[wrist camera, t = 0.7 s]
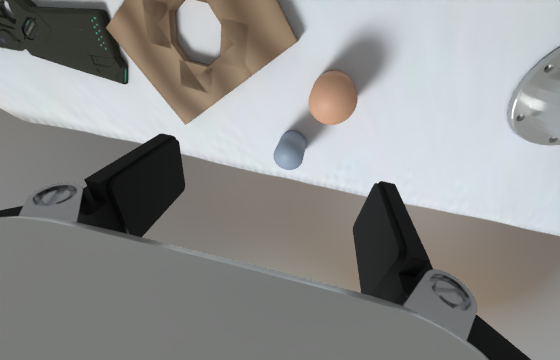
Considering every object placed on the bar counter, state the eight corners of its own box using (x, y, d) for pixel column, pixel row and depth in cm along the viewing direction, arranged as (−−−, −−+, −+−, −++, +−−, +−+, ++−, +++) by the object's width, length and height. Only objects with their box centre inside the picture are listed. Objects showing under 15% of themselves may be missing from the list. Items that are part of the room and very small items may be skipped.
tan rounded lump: (343, 60, 28) (345, 65, 24) (360, 100, 30) (364, 110, 26) (304, 85, 31) (300, 93, 27) (323, 120, 33) (321, 132, 29)
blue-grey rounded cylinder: (297, 126, 34) (293, 138, 30) (310, 148, 36) (308, 162, 32) (275, 138, 36) (268, 151, 32) (288, 158, 38) (283, 173, 34)
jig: (218, -118, 22) (212, -127, 21) (298, 41, 28) (296, 41, 27) (114, 28, 32) (105, 27, 30) (190, 121, 38) (185, 124, 36)
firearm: (92, -45, 26) (125, 86, 35) (108, -40, 28) (135, 83, 36) (-108, -82, 28) (-29, 51, 36) (-81, -75, 30) (-12, 50, 38)
